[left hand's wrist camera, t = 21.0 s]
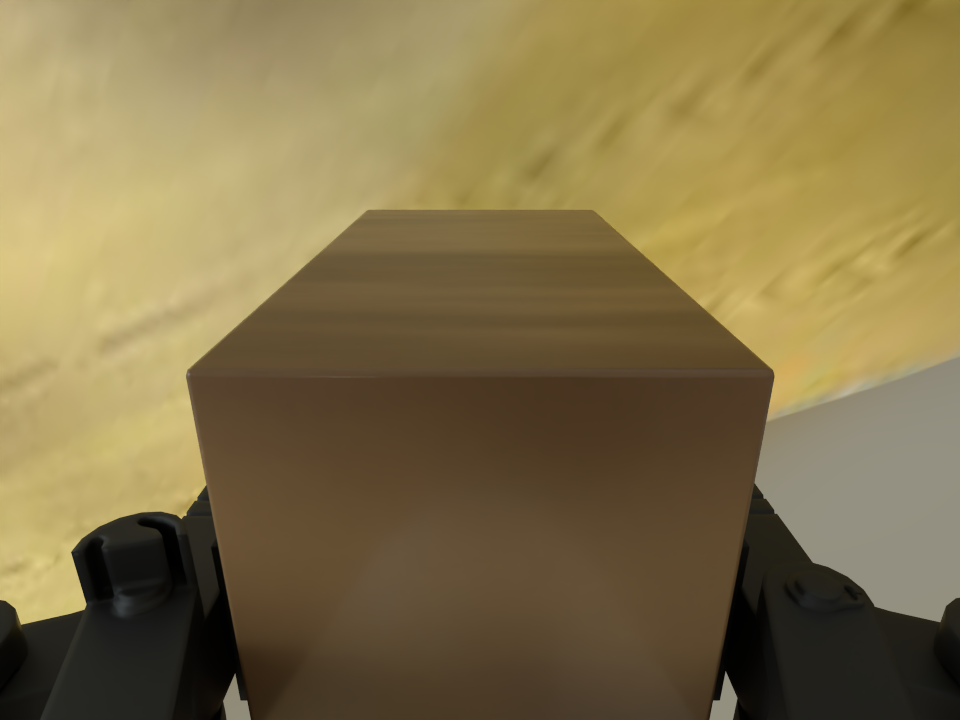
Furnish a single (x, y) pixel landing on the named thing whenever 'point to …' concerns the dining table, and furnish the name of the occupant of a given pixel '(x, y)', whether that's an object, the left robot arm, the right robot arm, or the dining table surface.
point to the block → (480, 476)
